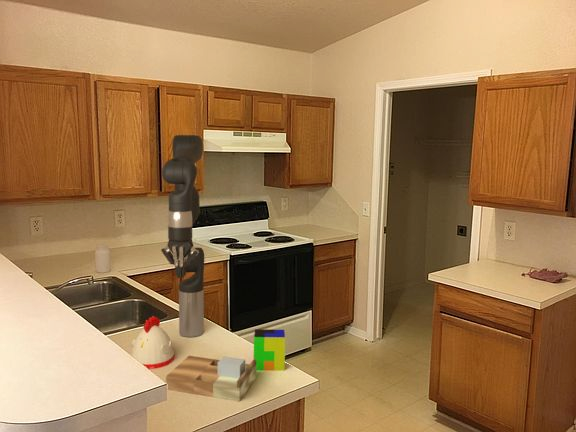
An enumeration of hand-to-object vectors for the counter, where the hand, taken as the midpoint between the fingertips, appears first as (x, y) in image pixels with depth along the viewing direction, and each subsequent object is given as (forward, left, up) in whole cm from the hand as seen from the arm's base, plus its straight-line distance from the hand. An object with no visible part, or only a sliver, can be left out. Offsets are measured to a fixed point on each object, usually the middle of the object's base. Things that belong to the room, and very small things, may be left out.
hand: (180, 277), depth 156 cm
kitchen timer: (+1, -10, -29) cm, 31 cm away
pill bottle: (-90, -94, -29) cm, 133 cm away
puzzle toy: (-8, +28, -29) cm, 41 cm away
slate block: (+10, +22, -25) cm, 35 cm away
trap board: (+10, +16, -29) cm, 34 cm away
